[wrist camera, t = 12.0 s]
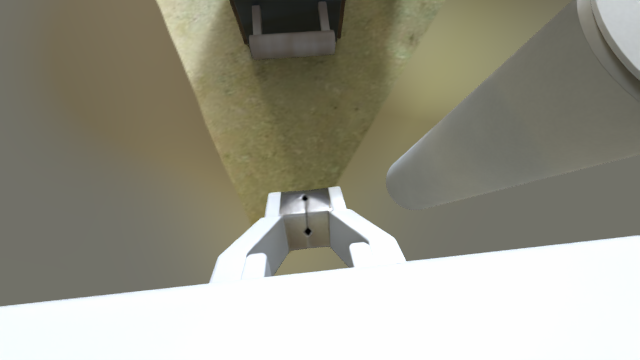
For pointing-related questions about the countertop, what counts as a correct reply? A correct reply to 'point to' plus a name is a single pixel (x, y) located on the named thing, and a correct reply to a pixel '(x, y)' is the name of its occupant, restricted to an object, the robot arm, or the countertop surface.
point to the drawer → (289, 27)
